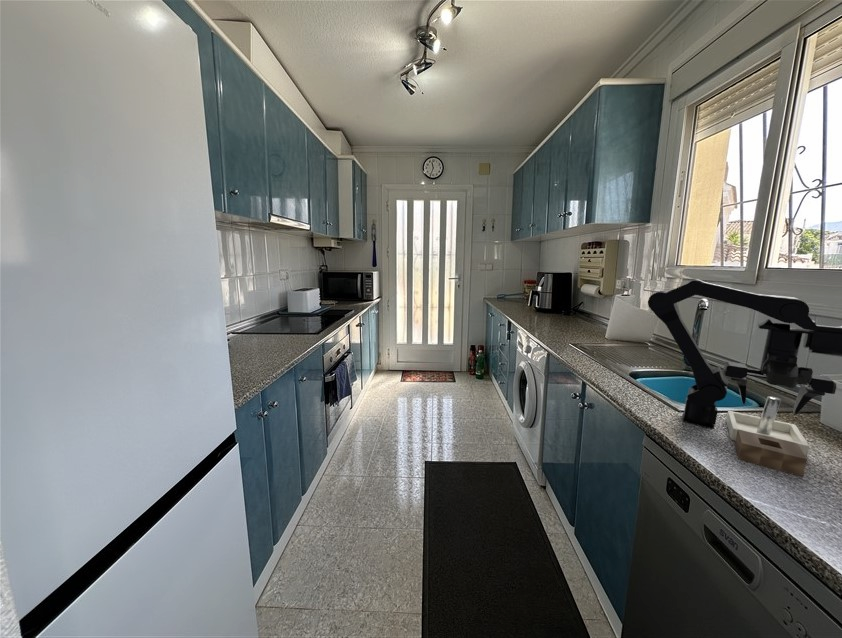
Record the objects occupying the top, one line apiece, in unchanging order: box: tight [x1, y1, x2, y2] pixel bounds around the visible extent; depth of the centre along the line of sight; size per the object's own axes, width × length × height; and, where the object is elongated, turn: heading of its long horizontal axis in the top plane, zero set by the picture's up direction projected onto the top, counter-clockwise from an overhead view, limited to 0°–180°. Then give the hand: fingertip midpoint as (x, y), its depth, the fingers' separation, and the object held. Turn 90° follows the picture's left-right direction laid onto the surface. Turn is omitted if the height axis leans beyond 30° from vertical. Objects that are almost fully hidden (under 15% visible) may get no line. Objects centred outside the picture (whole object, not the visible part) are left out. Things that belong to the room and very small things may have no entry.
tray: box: [725, 410, 810, 459], centre depth 87 cm, size 13×13×3 cm
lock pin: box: [757, 395, 782, 435], centre depth 86 cm, size 2×2×10 cm
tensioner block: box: [734, 429, 808, 478], centre depth 77 cm, size 10×8×4 cm
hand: (768, 408), depth 86 cm, fingers open, 9 cm apart
